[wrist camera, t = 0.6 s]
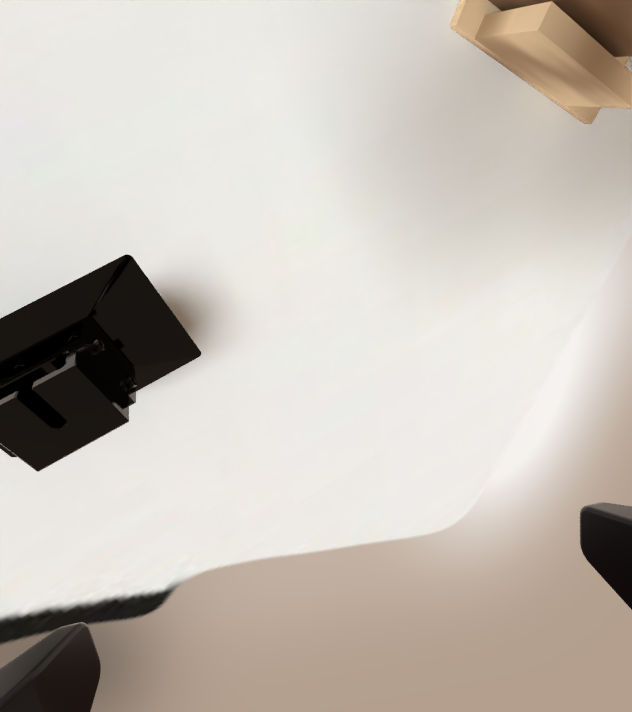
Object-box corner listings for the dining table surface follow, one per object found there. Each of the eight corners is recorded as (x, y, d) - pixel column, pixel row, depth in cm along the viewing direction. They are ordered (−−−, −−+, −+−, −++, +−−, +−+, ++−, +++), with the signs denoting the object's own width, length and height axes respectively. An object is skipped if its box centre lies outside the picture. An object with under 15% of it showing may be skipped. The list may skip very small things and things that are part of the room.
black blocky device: (154, 210, 16) (162, 244, 13) (240, 349, 21) (264, 404, 17) (-157, 368, 15) (-244, 454, 12) (3, 478, 20) (-26, 566, 16)
